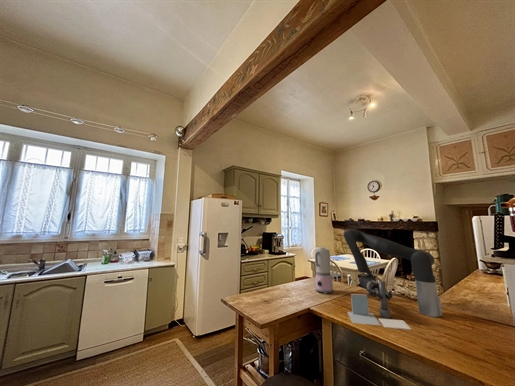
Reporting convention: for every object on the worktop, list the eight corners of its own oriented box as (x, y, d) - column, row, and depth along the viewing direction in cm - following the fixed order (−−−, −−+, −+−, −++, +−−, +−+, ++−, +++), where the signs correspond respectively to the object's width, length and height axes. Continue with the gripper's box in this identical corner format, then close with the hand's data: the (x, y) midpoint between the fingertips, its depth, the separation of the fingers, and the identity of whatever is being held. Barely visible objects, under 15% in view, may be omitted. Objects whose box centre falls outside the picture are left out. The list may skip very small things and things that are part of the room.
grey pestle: (388, 315, 112) (385, 280, 115) (392, 319, 107) (388, 283, 110) (378, 314, 113) (375, 280, 116) (381, 318, 108) (378, 282, 111)
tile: (368, 314, 113) (366, 294, 115) (368, 315, 112) (367, 295, 113) (352, 312, 115) (350, 293, 117) (352, 313, 114) (351, 294, 115)
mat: (372, 314, 114) (372, 313, 114) (381, 326, 100) (381, 325, 100) (347, 312, 117) (347, 311, 117) (352, 324, 103) (352, 322, 103)
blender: (321, 288, 163) (319, 246, 168) (336, 291, 154) (333, 247, 159) (310, 292, 152) (308, 247, 157) (325, 296, 143) (322, 249, 148)
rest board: (402, 322, 104) (402, 320, 104) (411, 331, 96) (411, 328, 96) (378, 320, 107) (378, 318, 107) (384, 328, 98) (384, 326, 98)
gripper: (361, 281, 128) (369, 289, 111) (387, 282, 124) (399, 291, 108) (363, 294, 127) (371, 304, 110) (388, 295, 123) (401, 306, 107)
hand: (385, 298), depth 109 cm, fingers closed on grey pestle, 3 cm apart
